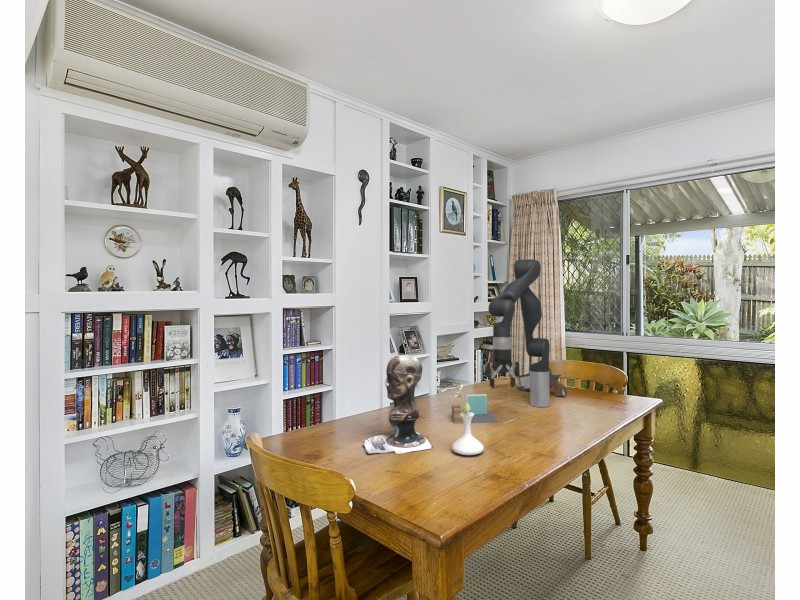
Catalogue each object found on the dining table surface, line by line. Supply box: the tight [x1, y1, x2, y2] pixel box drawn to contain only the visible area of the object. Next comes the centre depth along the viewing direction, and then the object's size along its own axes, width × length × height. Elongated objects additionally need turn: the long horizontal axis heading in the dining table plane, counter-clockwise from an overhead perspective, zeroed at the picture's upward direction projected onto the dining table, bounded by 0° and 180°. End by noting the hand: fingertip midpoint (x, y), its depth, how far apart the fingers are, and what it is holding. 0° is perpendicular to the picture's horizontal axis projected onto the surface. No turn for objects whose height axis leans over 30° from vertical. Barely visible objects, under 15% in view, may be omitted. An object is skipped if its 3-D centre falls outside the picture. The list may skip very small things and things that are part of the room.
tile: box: [466, 393, 488, 415], centre depth 207 cm, size 2×9×9 cm, turn 90°
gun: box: [516, 368, 568, 398], centre depth 247 cm, size 5×27×15 cm, turn 40°
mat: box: [471, 411, 498, 424], centre depth 203 cm, size 14×14×1 cm
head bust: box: [362, 354, 434, 456], centre depth 171 cm, size 22×25×35 cm
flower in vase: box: [451, 384, 485, 456], centre depth 160 cm, size 13×11×25 cm
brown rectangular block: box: [451, 403, 464, 425], centre depth 200 cm, size 10×4×6 cm, turn 0°
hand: (502, 387), depth 184 cm, fingers open, 8 cm apart
